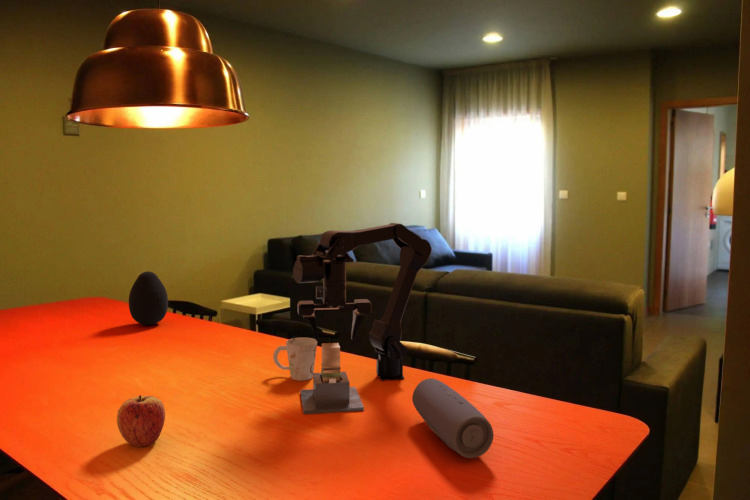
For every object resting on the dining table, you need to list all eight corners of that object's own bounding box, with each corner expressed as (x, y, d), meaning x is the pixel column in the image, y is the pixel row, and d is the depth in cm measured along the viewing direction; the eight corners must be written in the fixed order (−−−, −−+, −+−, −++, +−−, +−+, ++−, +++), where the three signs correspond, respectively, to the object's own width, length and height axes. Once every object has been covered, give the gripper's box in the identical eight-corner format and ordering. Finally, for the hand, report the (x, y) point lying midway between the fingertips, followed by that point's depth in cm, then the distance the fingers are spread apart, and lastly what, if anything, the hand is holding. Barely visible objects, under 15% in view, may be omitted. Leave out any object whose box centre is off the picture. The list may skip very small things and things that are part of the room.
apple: (118, 456, 113) (115, 406, 112) (117, 438, 121) (115, 391, 120) (167, 448, 117) (166, 400, 115) (164, 431, 125) (162, 385, 124)
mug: (311, 383, 155) (311, 346, 154) (267, 379, 158) (266, 343, 157) (321, 373, 163) (320, 338, 162) (278, 370, 166) (277, 335, 165)
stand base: (355, 389, 150) (355, 363, 150) (363, 410, 137) (364, 381, 136) (300, 392, 148) (300, 365, 147) (303, 414, 134) (303, 384, 134)
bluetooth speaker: (496, 461, 112) (497, 411, 111) (451, 468, 110) (452, 416, 108) (448, 416, 134) (448, 374, 133) (409, 421, 131) (410, 377, 130)
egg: (159, 318, 228) (158, 267, 226) (174, 325, 218) (173, 271, 216) (123, 324, 219) (121, 271, 216) (137, 331, 209) (135, 275, 206)
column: (338, 377, 144) (338, 342, 143) (340, 383, 140) (340, 347, 139) (321, 378, 144) (321, 343, 143) (322, 384, 139) (322, 348, 138)
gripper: (365, 274, 159) (365, 331, 161) (296, 276, 156) (296, 333, 157) (372, 281, 148) (372, 341, 150) (298, 283, 145) (298, 344, 146)
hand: (334, 340), depth 151 cm, fingers open, 9 cm apart
